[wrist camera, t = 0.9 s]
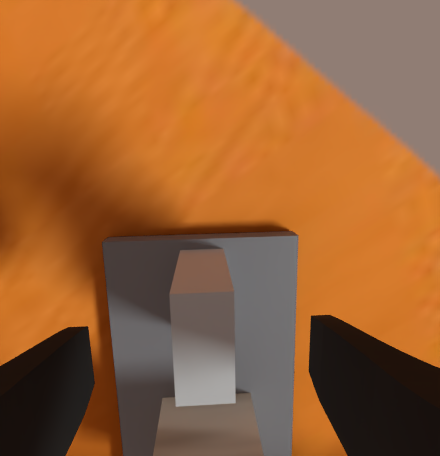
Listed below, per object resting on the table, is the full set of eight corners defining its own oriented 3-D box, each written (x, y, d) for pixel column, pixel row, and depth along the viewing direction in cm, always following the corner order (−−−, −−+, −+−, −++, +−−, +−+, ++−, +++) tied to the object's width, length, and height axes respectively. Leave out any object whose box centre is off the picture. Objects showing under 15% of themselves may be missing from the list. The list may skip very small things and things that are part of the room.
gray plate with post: (284, 517, 19) (320, 671, 14) (136, 529, 19) (106, 693, 13) (292, 231, 16) (345, 271, 10) (108, 237, 15) (50, 283, 9)
